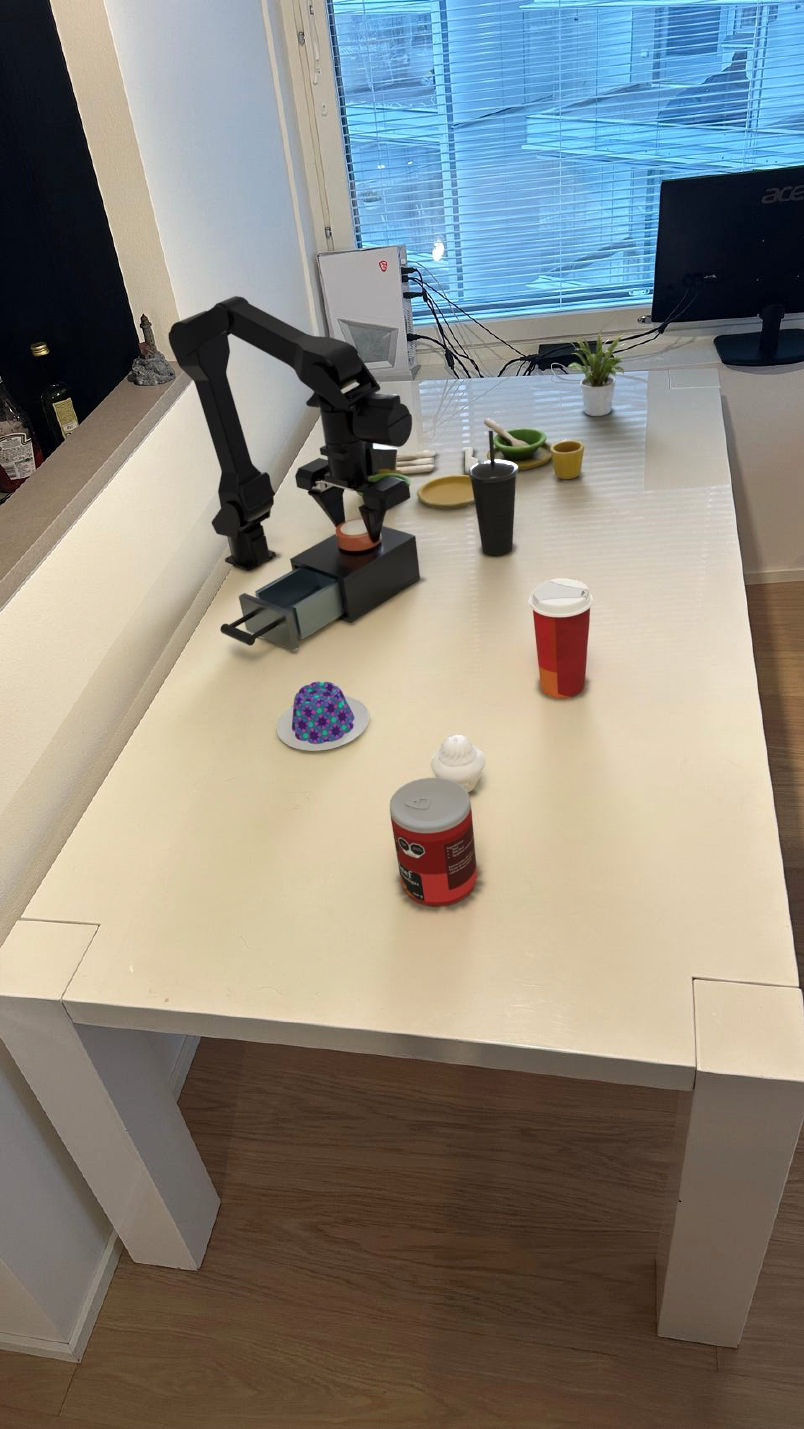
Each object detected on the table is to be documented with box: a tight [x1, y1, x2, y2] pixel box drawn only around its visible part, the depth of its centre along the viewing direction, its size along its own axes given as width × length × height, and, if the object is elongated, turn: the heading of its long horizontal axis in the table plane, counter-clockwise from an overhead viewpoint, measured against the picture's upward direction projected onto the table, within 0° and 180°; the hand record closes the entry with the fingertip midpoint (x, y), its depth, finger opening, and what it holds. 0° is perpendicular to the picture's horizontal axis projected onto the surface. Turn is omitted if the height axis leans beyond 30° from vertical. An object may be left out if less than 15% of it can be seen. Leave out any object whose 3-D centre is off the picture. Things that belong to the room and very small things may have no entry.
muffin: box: [430, 734, 486, 794], centre depth 115 cm, size 6×6×7 cm
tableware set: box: [356, 417, 585, 509], centre depth 186 cm, size 41×28×6 cm
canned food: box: [389, 777, 478, 907], centre depth 102 cm, size 8×8×11 cm
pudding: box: [275, 681, 370, 752], centre depth 128 cm, size 12×12×5 cm
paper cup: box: [527, 577, 594, 699], centre depth 127 cm, size 8×8×14 cm
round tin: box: [334, 517, 382, 551], centre depth 153 cm, size 7×7×3 cm
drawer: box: [219, 567, 346, 651], centre depth 147 cm, size 20×10×6 cm, turn 138°
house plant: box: [557, 329, 627, 417], centre depth 203 cm, size 14×14×16 cm
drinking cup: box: [467, 428, 519, 557], centre depth 158 cm, size 8×8×20 cm
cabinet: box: [289, 525, 421, 624], centre depth 155 cm, size 16×12×8 cm
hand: (358, 536), depth 153 cm, fingers closed on round tin, 7 cm apart
